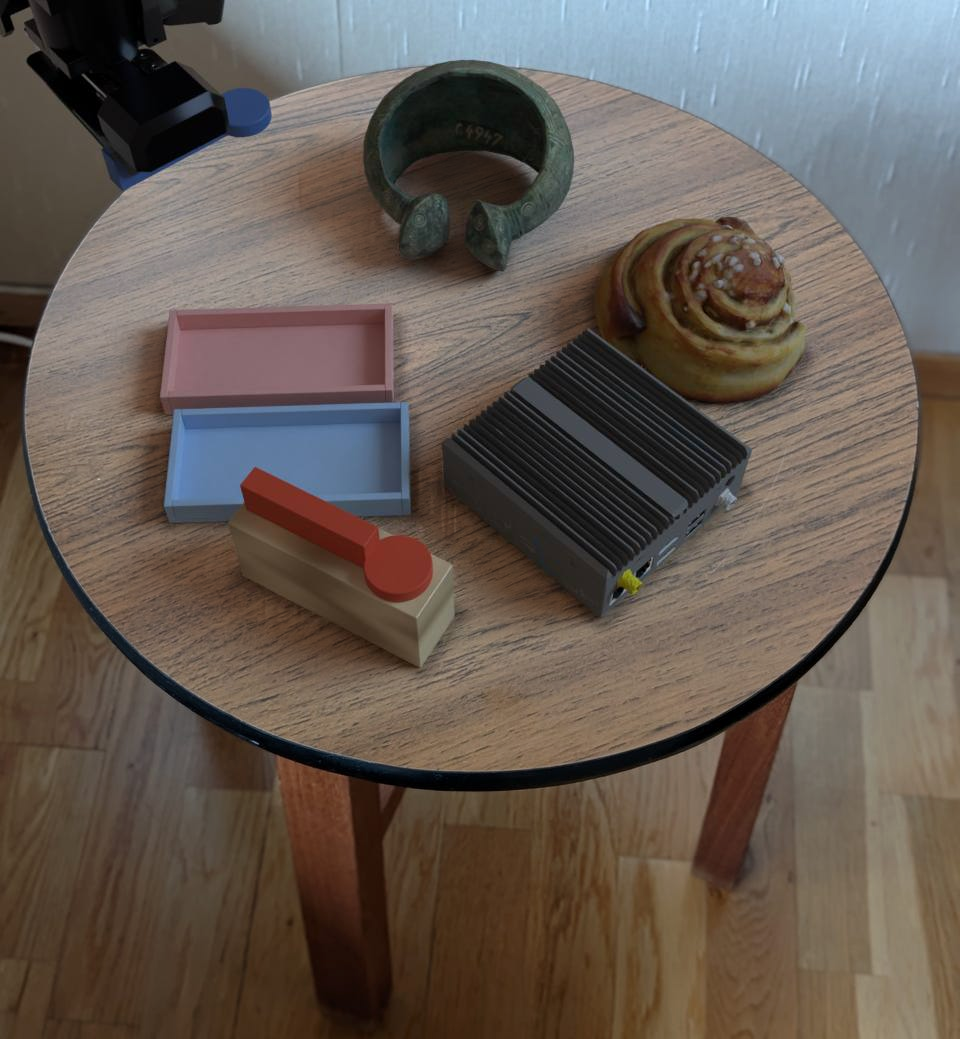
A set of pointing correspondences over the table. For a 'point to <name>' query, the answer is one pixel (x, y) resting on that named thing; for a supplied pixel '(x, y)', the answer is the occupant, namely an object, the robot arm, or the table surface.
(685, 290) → the pastry
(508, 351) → the table surface
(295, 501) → the red spoon
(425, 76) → the bracelet
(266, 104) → the blue paddle
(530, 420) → the electronic device
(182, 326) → the rose tray
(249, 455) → the blue tray
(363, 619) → the wooden rectangular block
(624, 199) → the table surface
